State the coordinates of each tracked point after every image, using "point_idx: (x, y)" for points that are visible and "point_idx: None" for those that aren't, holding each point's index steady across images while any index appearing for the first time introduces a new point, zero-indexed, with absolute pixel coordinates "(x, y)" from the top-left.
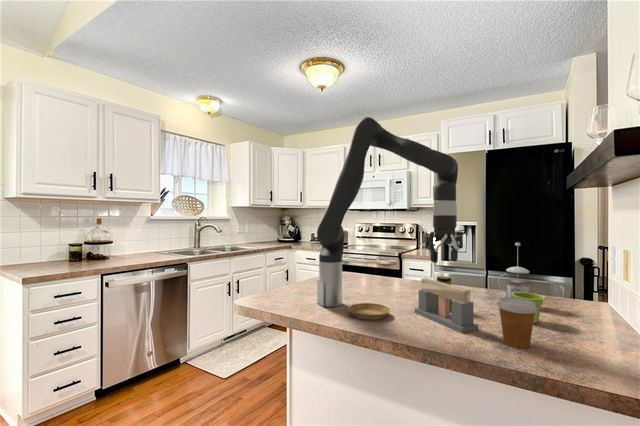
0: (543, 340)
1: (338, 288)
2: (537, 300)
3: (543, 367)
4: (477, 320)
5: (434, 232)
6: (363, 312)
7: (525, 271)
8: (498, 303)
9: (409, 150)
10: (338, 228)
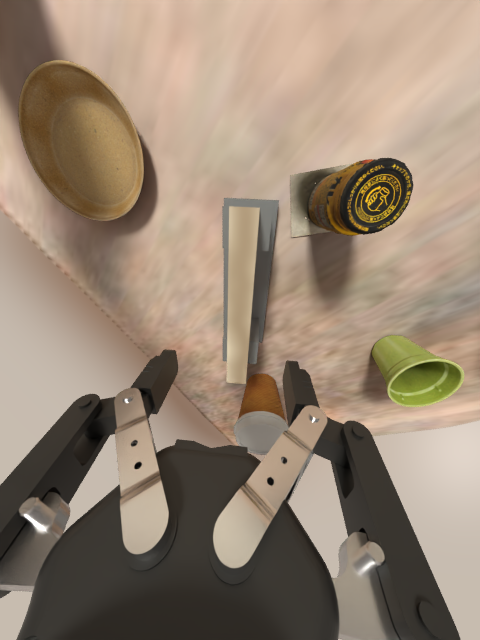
0: None
1: None
2: (399, 401)
3: (227, 416)
4: (309, 307)
5: (32, 586)
6: (83, 126)
7: None
8: (244, 419)
9: None
10: None
